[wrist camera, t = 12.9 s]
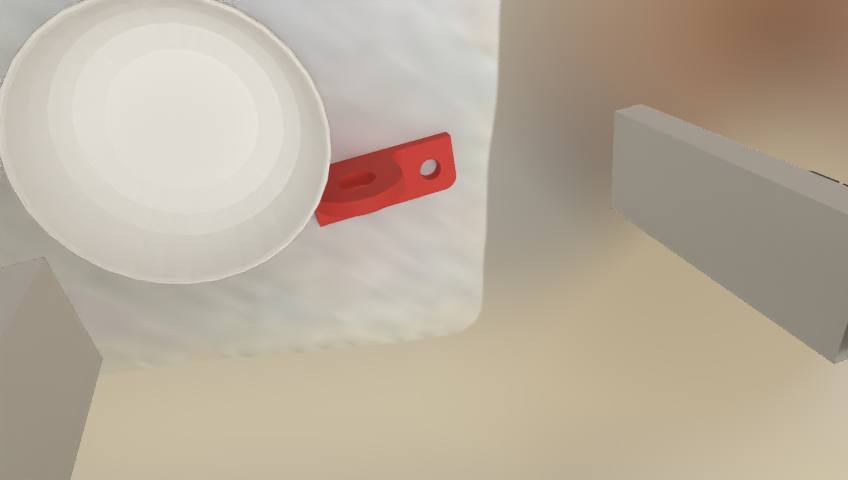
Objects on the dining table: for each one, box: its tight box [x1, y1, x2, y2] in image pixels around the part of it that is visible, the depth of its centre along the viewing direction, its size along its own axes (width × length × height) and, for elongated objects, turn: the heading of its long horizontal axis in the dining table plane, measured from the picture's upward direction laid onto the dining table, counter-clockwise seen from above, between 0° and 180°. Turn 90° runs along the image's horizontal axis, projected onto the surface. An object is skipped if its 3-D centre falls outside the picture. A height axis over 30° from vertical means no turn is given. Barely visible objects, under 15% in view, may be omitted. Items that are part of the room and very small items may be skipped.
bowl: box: [0, 0, 331, 284], centre depth 37 cm, size 18×18×7 cm
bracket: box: [315, 132, 456, 227], centre depth 43 cm, size 12×4×8 cm, turn 100°
